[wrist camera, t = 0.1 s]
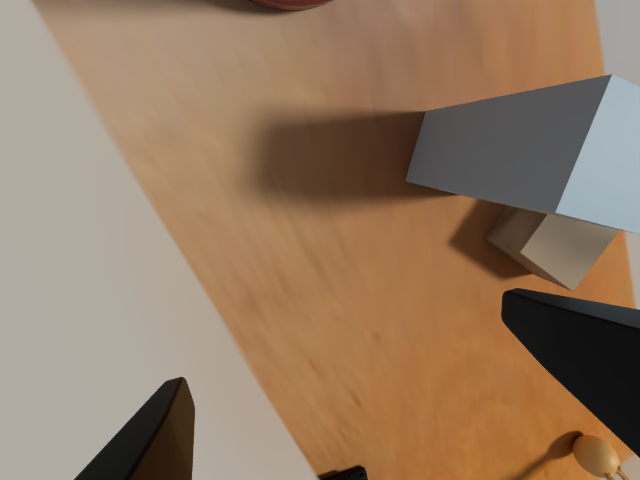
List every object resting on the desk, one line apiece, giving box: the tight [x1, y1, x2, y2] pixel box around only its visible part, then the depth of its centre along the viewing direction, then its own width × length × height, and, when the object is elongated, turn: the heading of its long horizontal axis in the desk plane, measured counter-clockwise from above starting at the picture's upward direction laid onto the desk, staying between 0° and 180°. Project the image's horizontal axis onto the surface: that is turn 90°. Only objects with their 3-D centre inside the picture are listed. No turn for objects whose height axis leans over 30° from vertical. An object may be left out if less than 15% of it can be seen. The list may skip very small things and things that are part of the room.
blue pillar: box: [405, 74, 640, 234], centre depth 18 cm, size 5×5×12 cm
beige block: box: [484, 205, 619, 291], centre depth 25 cm, size 7×7×4 cm
